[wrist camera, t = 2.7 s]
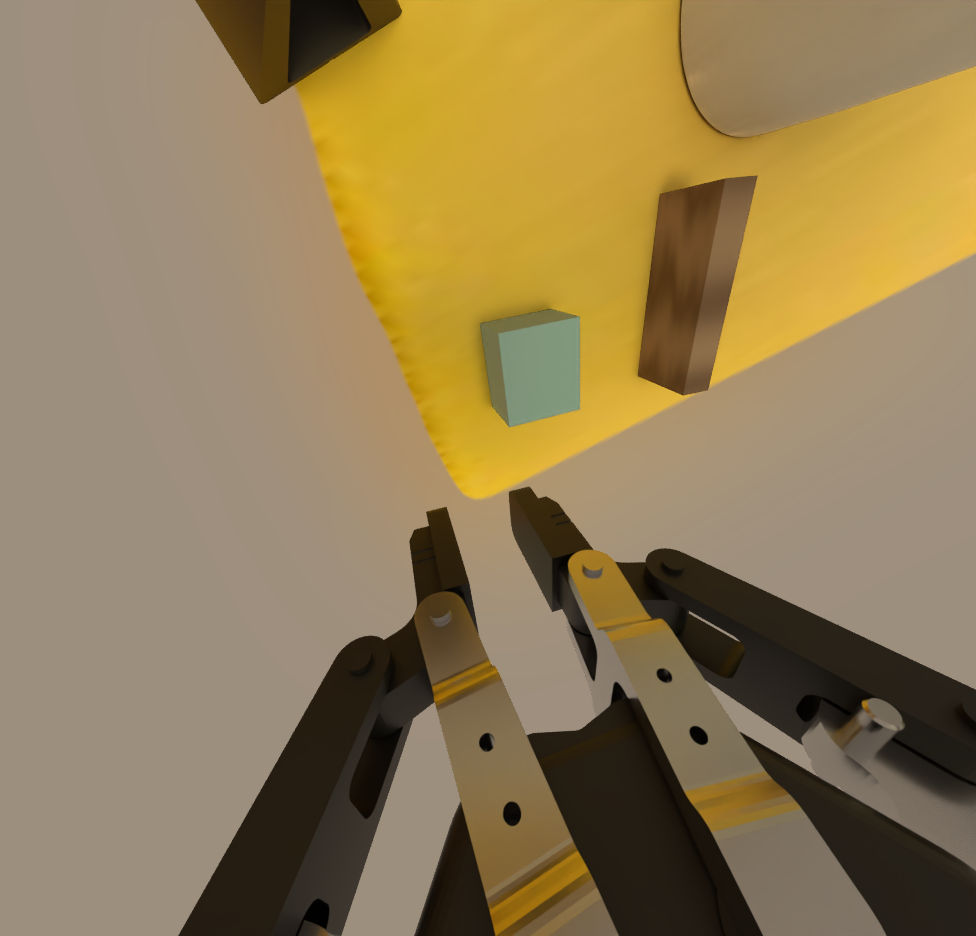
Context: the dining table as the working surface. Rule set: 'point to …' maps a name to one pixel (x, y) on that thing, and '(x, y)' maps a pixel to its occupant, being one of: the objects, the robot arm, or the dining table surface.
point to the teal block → (533, 365)
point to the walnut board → (692, 281)
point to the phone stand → (292, 35)
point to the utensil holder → (815, 55)
